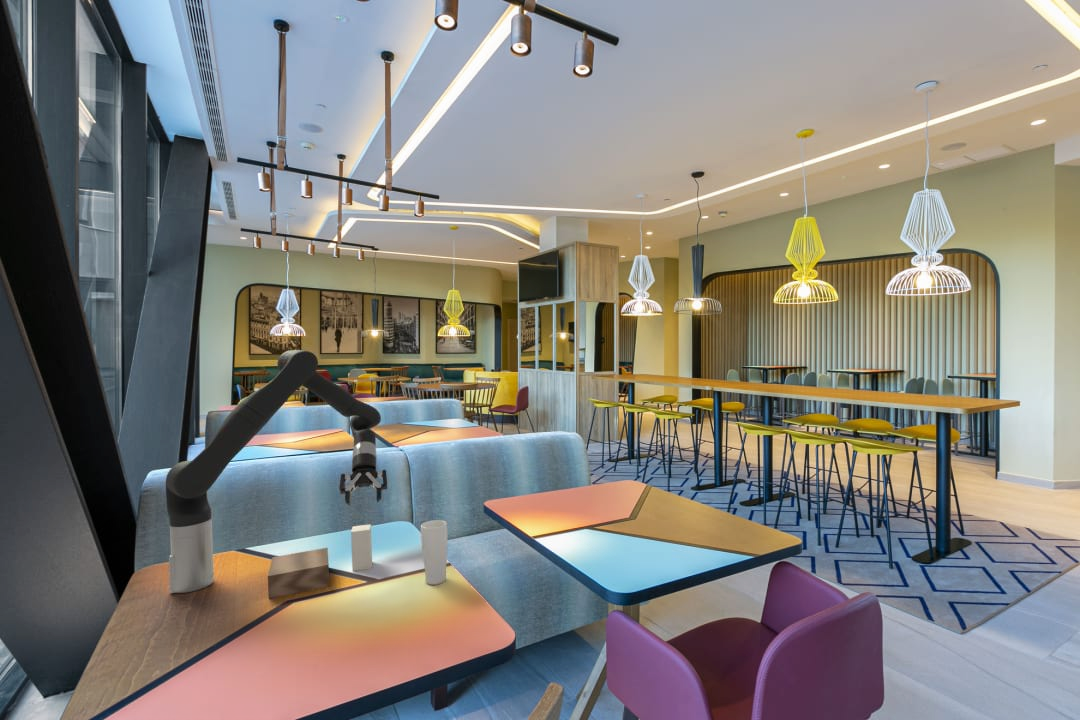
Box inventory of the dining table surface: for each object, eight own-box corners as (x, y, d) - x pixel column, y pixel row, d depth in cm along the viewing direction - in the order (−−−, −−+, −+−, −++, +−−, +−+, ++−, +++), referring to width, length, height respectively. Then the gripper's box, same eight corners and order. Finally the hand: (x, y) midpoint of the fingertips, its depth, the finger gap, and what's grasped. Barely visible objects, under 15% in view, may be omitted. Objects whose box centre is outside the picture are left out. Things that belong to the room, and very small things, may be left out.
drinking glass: (443, 587, 126) (440, 528, 126) (418, 586, 128) (416, 527, 128) (453, 576, 133) (450, 520, 133) (429, 575, 134) (427, 519, 134)
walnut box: (268, 600, 124) (267, 576, 124) (273, 579, 137) (272, 557, 137) (329, 587, 130) (328, 564, 130) (328, 568, 143) (327, 547, 143)
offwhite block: (352, 571, 139) (350, 531, 139) (354, 564, 144) (352, 526, 144) (371, 568, 141) (369, 529, 141) (372, 562, 145) (370, 524, 146)
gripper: (340, 454, 160) (337, 498, 149) (386, 450, 164) (387, 493, 153) (342, 467, 165) (340, 511, 154) (387, 463, 169) (388, 506, 158)
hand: (363, 502), depth 154 cm, fingers open, 8 cm apart
